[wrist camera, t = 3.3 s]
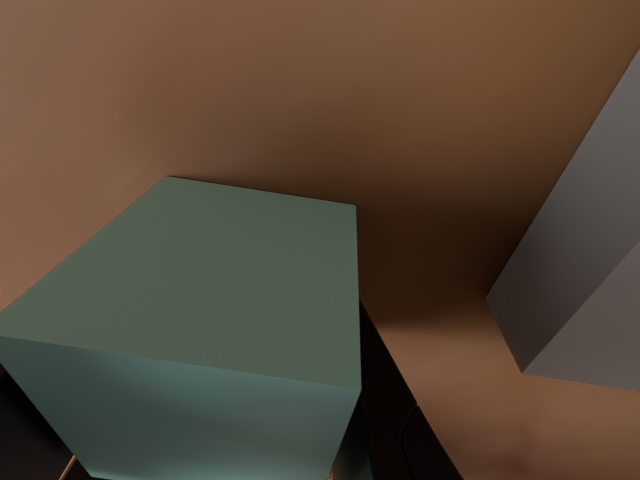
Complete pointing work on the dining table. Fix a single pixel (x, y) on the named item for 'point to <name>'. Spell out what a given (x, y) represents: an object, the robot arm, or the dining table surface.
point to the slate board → (583, 260)
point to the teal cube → (198, 337)
